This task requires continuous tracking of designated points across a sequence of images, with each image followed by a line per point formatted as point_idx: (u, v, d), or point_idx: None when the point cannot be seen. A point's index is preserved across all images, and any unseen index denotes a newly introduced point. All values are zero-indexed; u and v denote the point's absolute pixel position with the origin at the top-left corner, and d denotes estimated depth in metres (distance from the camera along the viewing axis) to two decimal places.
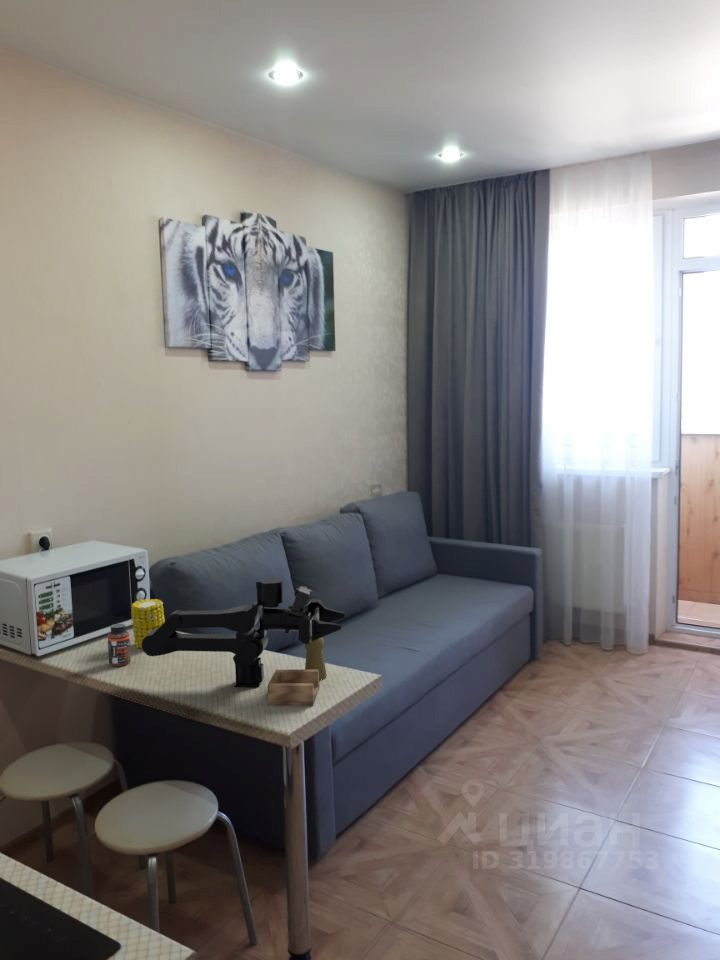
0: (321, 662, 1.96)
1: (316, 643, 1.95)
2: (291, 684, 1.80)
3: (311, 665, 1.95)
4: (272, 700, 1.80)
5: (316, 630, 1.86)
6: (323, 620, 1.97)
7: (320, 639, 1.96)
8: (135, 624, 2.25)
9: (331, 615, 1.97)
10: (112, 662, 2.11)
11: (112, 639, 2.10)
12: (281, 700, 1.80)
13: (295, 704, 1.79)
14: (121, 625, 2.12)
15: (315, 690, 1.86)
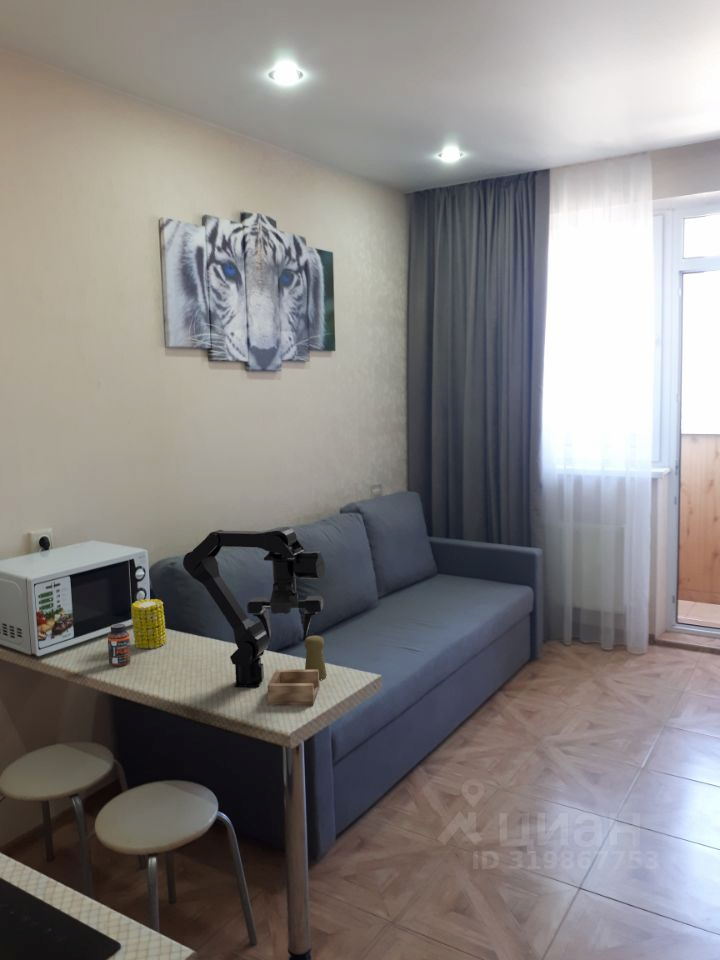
0: (321, 662, 1.96)
1: (316, 643, 1.95)
2: (291, 684, 1.80)
3: (311, 665, 1.95)
4: (272, 700, 1.80)
5: None
6: None
7: (320, 639, 1.96)
8: (135, 624, 2.25)
9: None
10: (112, 662, 2.11)
11: (112, 639, 2.10)
12: (281, 700, 1.80)
13: (295, 704, 1.79)
14: (121, 625, 2.12)
15: (315, 690, 1.86)
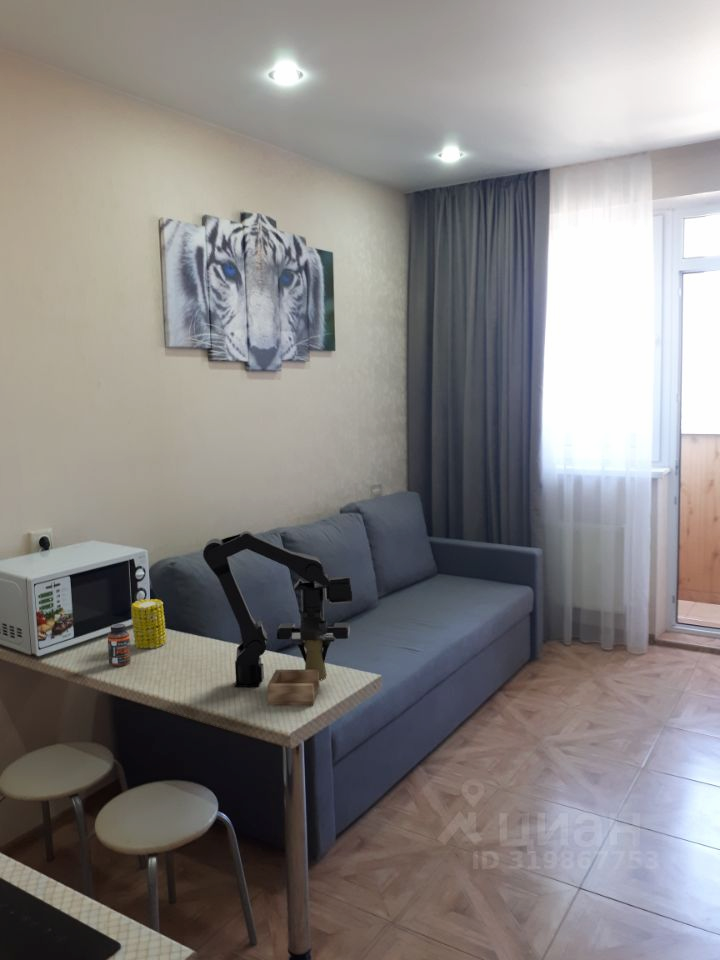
0: (321, 662, 1.96)
1: (316, 643, 1.95)
2: (291, 684, 1.80)
3: (311, 665, 1.95)
4: (272, 700, 1.80)
5: None
6: None
7: (320, 639, 1.96)
8: (135, 624, 2.25)
9: None
10: (112, 662, 2.11)
11: (112, 639, 2.10)
12: (281, 700, 1.80)
13: (295, 704, 1.79)
14: (121, 625, 2.12)
15: (315, 690, 1.86)
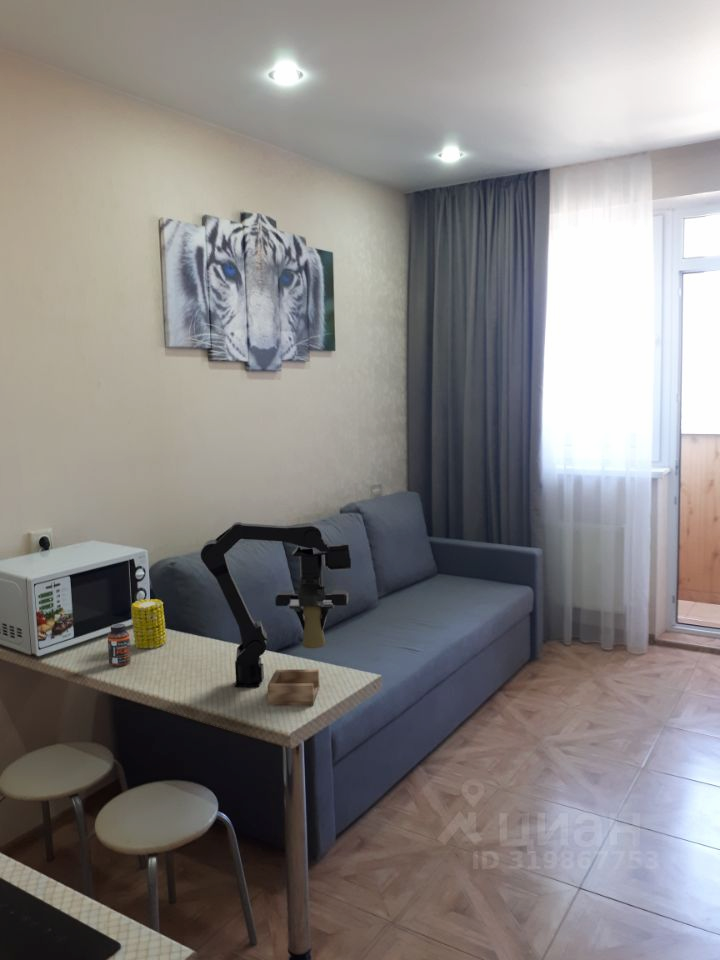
0: (319, 629, 1.95)
1: (315, 610, 1.94)
2: (291, 684, 1.80)
3: (309, 632, 1.94)
4: (272, 700, 1.80)
5: None
6: None
7: (319, 606, 1.95)
8: (135, 624, 2.25)
9: None
10: (112, 662, 2.11)
11: (112, 639, 2.10)
12: (281, 700, 1.80)
13: (295, 704, 1.79)
14: (121, 625, 2.12)
15: (315, 690, 1.86)
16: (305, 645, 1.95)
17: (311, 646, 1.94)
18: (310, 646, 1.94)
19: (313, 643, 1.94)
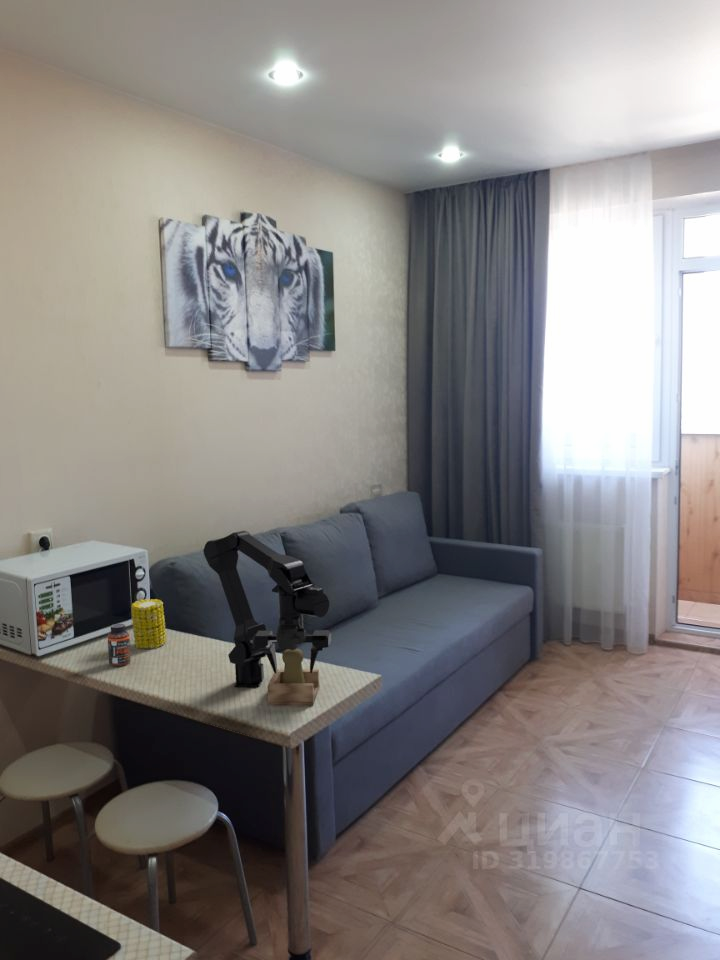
0: (300, 677, 1.83)
1: (295, 656, 1.82)
2: (291, 684, 1.80)
3: (289, 680, 1.83)
4: (272, 700, 1.80)
5: None
6: None
7: (299, 652, 1.83)
8: (135, 624, 2.25)
9: None
10: (112, 662, 2.11)
11: (112, 639, 2.10)
12: (281, 700, 1.80)
13: (295, 704, 1.79)
14: (121, 625, 2.12)
15: (315, 690, 1.86)
16: None
17: None
18: None
19: None
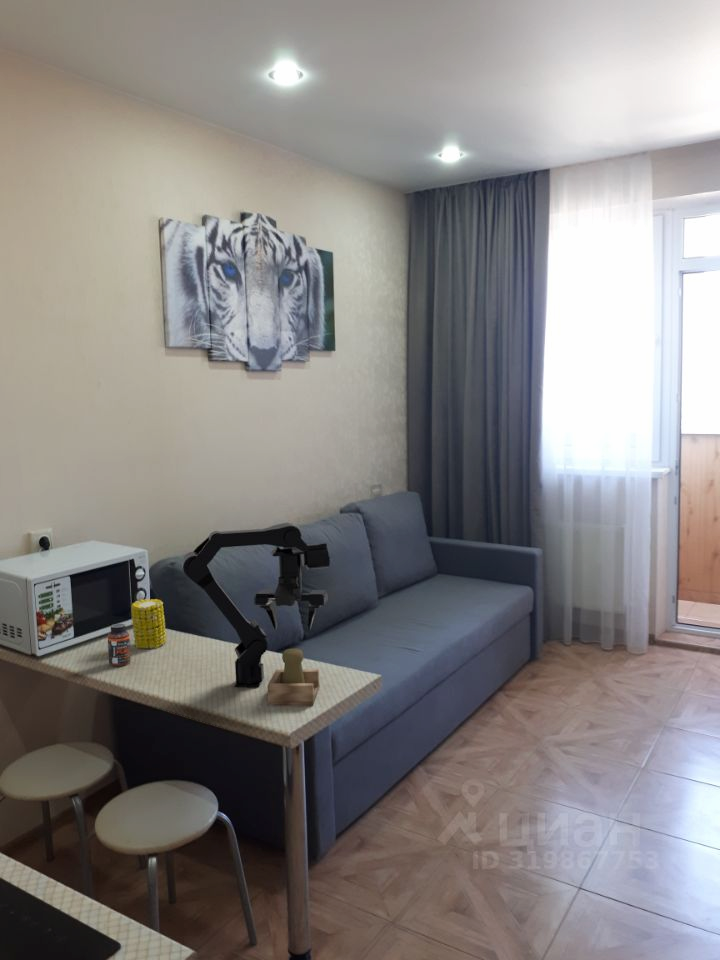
0: (300, 677, 1.83)
1: (295, 656, 1.82)
2: (291, 684, 1.80)
3: (289, 680, 1.83)
4: (272, 700, 1.80)
5: None
6: None
7: (299, 652, 1.83)
8: (135, 624, 2.25)
9: None
10: (112, 662, 2.11)
11: (112, 639, 2.10)
12: (281, 700, 1.80)
13: (295, 704, 1.79)
14: (121, 625, 2.12)
15: (315, 690, 1.86)
16: None
17: None
18: None
19: None
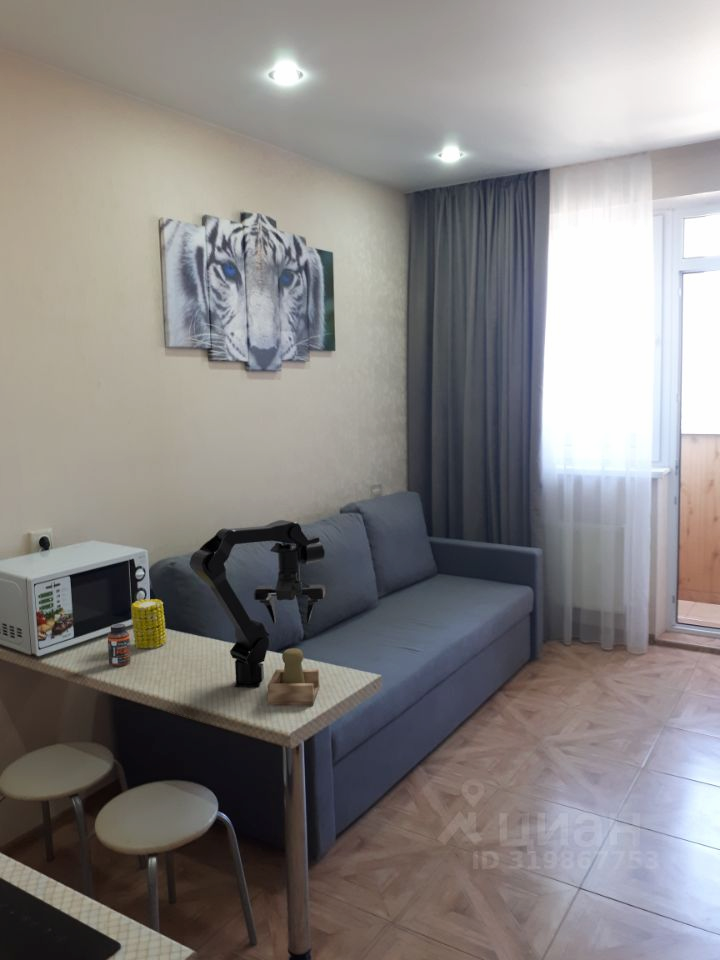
0: (300, 677, 1.83)
1: (295, 656, 1.82)
2: (291, 684, 1.80)
3: (289, 680, 1.83)
4: (272, 700, 1.80)
5: None
6: None
7: (299, 652, 1.83)
8: (135, 624, 2.25)
9: None
10: (112, 662, 2.11)
11: (112, 639, 2.10)
12: (281, 700, 1.80)
13: (295, 704, 1.79)
14: (121, 625, 2.12)
15: (315, 690, 1.86)
16: None
17: None
18: None
19: None
